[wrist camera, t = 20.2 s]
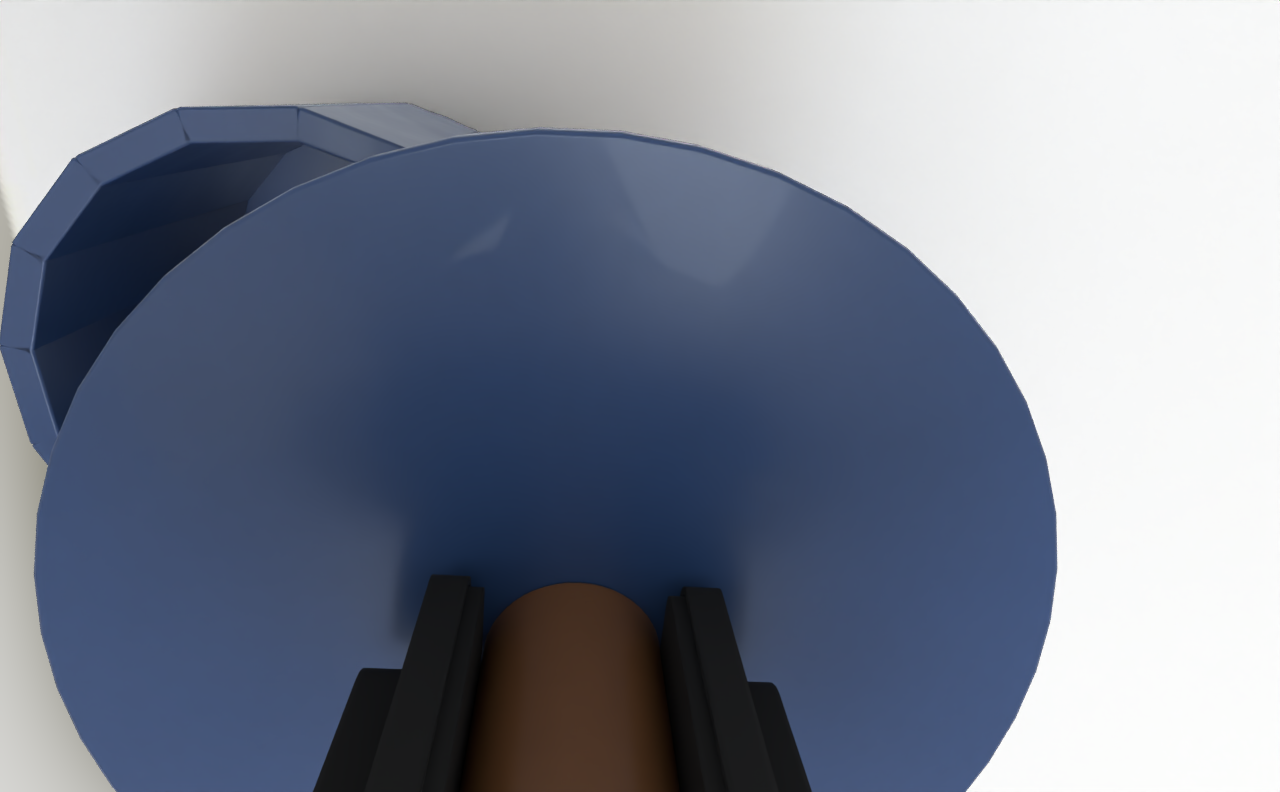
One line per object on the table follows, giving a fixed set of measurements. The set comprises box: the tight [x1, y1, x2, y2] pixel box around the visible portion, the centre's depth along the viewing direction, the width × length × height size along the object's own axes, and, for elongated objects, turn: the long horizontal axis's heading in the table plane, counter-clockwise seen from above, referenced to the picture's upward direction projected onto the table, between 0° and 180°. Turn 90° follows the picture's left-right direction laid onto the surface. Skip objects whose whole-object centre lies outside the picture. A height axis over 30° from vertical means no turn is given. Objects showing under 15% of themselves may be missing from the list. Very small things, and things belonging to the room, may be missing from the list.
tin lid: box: [34, 127, 1057, 792], centre depth 10 cm, size 15×15×6 cm
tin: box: [0, 103, 480, 465], centre depth 26 cm, size 14×14×12 cm
